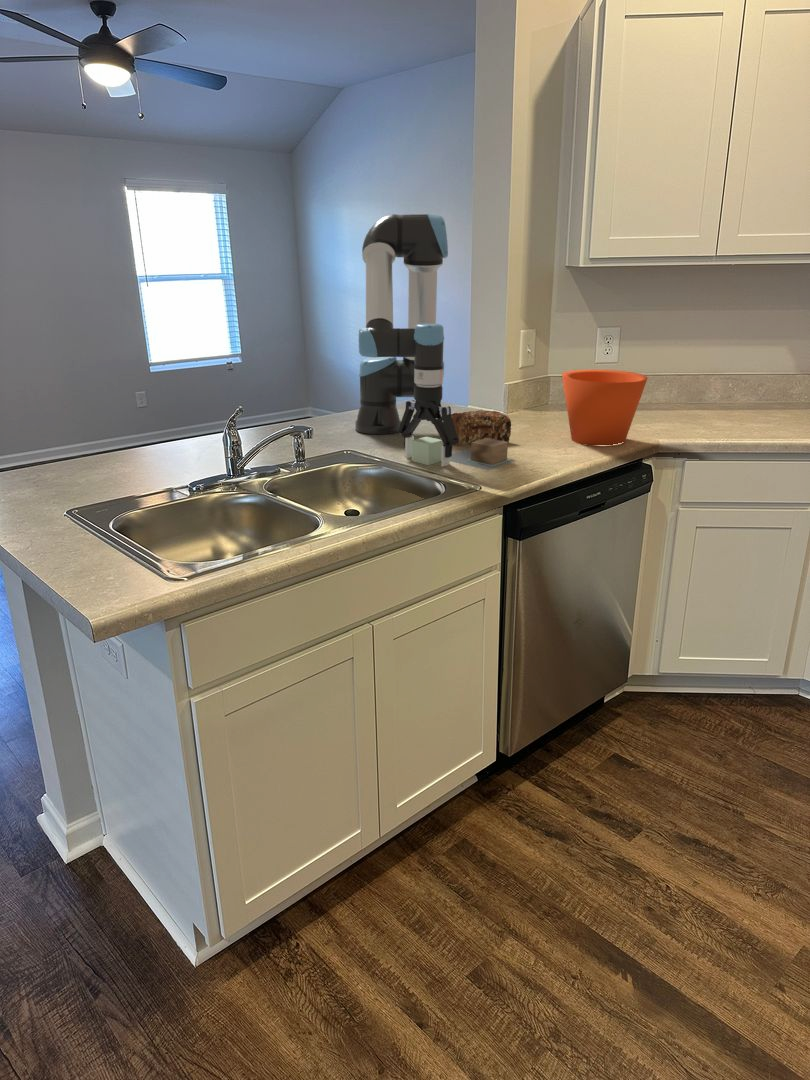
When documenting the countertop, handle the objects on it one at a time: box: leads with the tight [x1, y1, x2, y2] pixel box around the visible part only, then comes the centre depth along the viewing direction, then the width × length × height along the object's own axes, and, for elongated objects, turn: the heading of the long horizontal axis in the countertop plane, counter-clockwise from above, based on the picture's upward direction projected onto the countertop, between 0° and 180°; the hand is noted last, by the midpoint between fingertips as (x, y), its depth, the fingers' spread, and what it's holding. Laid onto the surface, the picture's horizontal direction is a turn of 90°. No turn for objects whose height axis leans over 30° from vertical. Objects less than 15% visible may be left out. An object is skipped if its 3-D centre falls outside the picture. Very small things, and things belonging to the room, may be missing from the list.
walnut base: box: [470, 438, 509, 465], centre depth 202 cm, size 7×7×5 cm
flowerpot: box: [561, 369, 649, 446], centre depth 227 cm, size 25×25×20 cm
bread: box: [451, 409, 512, 447], centre depth 225 cm, size 19×11×10 cm, turn 116°
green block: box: [411, 436, 444, 466], centre depth 202 cm, size 6×6×7 cm
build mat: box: [450, 449, 517, 471], centre depth 204 cm, size 17×13×1 cm
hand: (427, 464), depth 203 cm, fingers open, 12 cm apart
